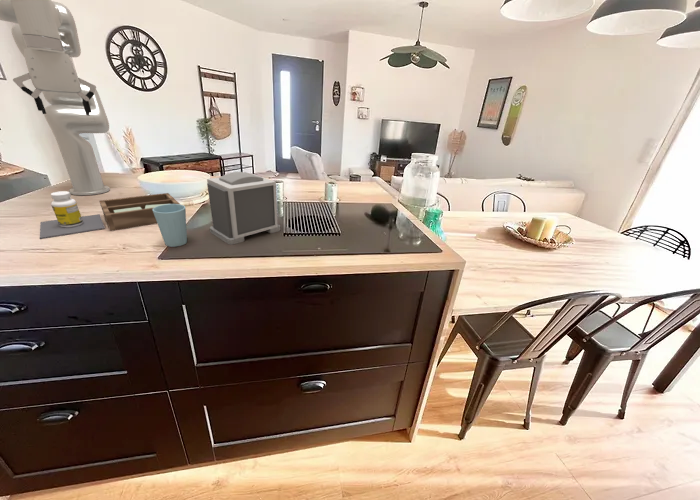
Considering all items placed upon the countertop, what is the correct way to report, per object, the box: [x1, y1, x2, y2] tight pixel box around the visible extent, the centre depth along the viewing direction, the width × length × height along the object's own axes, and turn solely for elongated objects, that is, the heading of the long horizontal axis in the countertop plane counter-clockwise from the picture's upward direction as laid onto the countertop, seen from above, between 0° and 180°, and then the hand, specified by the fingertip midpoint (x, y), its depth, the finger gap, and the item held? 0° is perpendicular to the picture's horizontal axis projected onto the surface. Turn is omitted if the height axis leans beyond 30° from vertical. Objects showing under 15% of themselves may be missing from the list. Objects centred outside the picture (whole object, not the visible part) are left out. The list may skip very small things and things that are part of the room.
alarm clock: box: [206, 171, 281, 245], centre depth 91 cm, size 18×13×18 cm
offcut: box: [114, 207, 142, 213], centre depth 92 cm, size 4×7×4 cm, turn 132°
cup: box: [153, 203, 188, 248], centre depth 81 cm, size 8×8×10 cm
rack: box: [99, 192, 182, 232], centre depth 97 cm, size 16×20×5 cm
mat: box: [39, 213, 106, 240], centre depth 88 cm, size 14×14×1 cm
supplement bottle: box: [50, 190, 83, 228], centre depth 86 cm, size 5×5×10 cm
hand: (67, 114), depth 87 cm, fingers open, 9 cm apart
